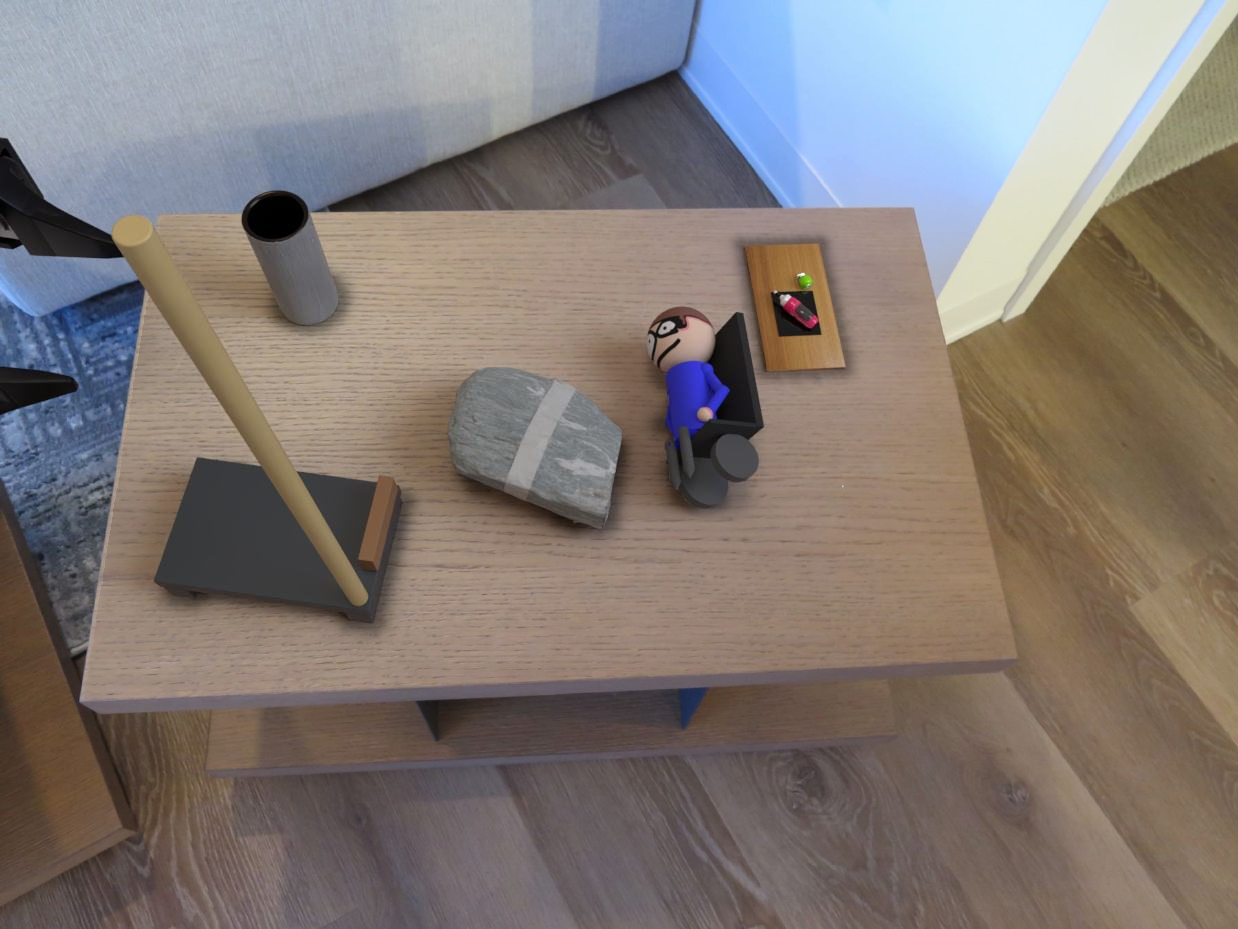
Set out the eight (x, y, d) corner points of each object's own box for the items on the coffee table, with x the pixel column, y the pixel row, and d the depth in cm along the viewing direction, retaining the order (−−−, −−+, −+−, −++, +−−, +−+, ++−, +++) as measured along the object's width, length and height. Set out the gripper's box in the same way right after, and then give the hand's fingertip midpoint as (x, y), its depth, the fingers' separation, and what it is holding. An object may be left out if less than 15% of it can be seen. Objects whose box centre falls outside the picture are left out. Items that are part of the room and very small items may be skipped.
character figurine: (661, 520, 69) (643, 344, 75) (761, 512, 69) (734, 337, 76) (664, 475, 62) (644, 285, 68) (775, 466, 62) (745, 277, 69)
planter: (347, 284, 76) (318, 196, 66) (327, 331, 74) (295, 247, 64) (291, 272, 76) (255, 183, 66) (271, 319, 74) (230, 234, 64)
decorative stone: (430, 486, 69) (420, 450, 63) (483, 372, 73) (477, 328, 68) (602, 544, 68) (606, 511, 62) (645, 424, 72) (653, 384, 67)
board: (818, 245, 80) (822, 233, 79) (844, 368, 75) (850, 358, 74) (745, 247, 80) (748, 235, 78) (766, 371, 75) (770, 361, 73)
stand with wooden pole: (169, 595, 64) (-324, 188, 28) (210, 474, 68) (-177, -20, 32) (376, 623, 64) (149, 254, 28) (405, 501, 68) (238, 39, 32)
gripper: (-398, 337, 42) (-29, 386, 43) (-205, 36, 50) (103, 85, 51) (-227, 447, 52) (69, 484, 53) (-89, 182, 60) (166, 219, 61)
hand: (102, 314), depth 54 cm, fingers open, 9 cm apart
